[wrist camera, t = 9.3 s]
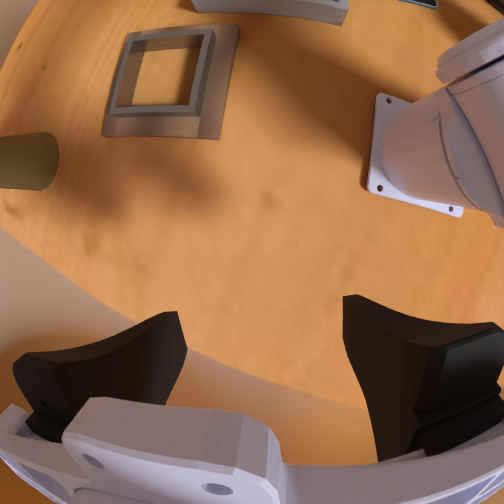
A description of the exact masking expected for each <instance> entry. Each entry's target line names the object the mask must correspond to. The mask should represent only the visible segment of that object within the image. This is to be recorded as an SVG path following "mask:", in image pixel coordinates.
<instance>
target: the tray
mask: <svg viewBox="0 0 504 504" xmlns="http://www.w3.org/2000/svg"><path fill="white" fill-rule="evenodd" d="M191 2H192V3H193V5H194V7H195V9H196V11H197V13H217V12H238V13H260V14H273V15H282V16H290V17H298V18H304V19H310V20H316V21H321V22H326V23H331V24H335V25H339V26H342V24H343V21H344V19H345V17H346V14H347V12H348V0H191Z"/></svg>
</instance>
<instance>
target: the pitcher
mask: <svg viewBox="0 0 504 504" xmlns="http://www.w3.org/2000/svg"><path fill="white" fill-rule="evenodd" d="M488 1H489V2H490V3H491V4H492V5H493V6H494V7H495V8H496V9H497V10H498V11H500V12H501V13H502V14H503V15H504V0H488Z"/></svg>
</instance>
